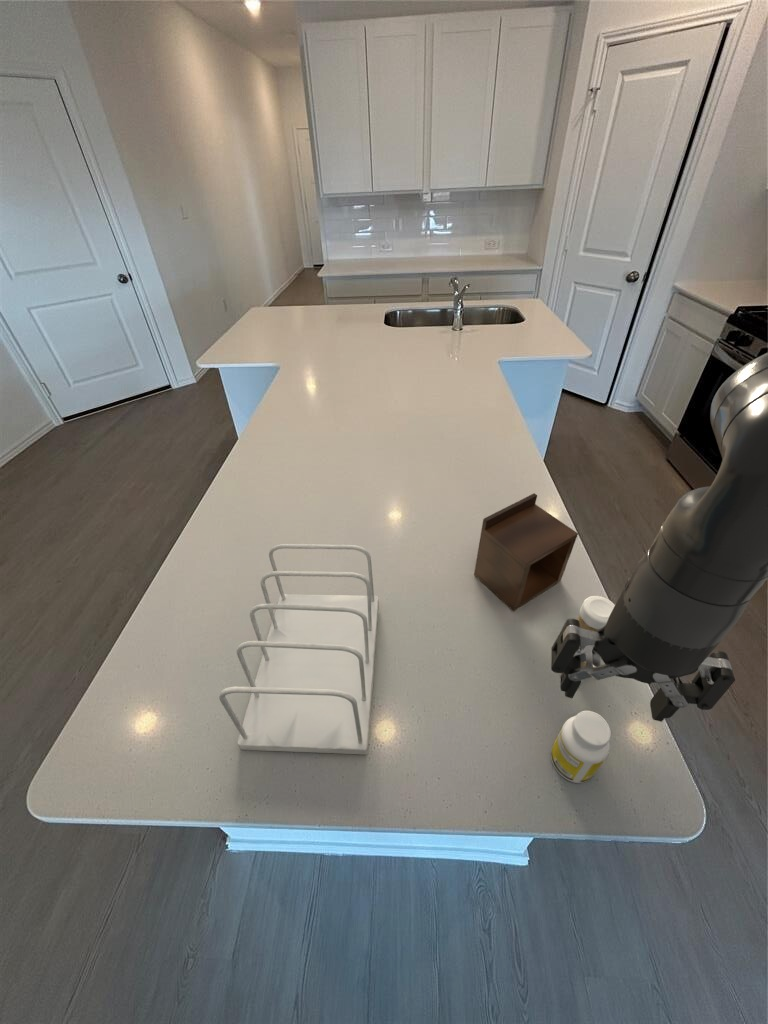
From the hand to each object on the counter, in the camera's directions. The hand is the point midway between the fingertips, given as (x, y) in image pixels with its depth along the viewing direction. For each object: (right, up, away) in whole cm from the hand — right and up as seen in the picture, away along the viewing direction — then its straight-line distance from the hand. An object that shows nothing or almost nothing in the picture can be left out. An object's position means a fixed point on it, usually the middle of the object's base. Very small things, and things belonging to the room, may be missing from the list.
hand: (610, 700), depth 46 cm
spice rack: (0, +8, +34) cm, 35 cm away
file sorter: (-34, -4, +22) cm, 41 cm away
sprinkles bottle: (+6, -3, +21) cm, 22 cm away
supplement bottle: (0, -13, +11) cm, 17 cm away
